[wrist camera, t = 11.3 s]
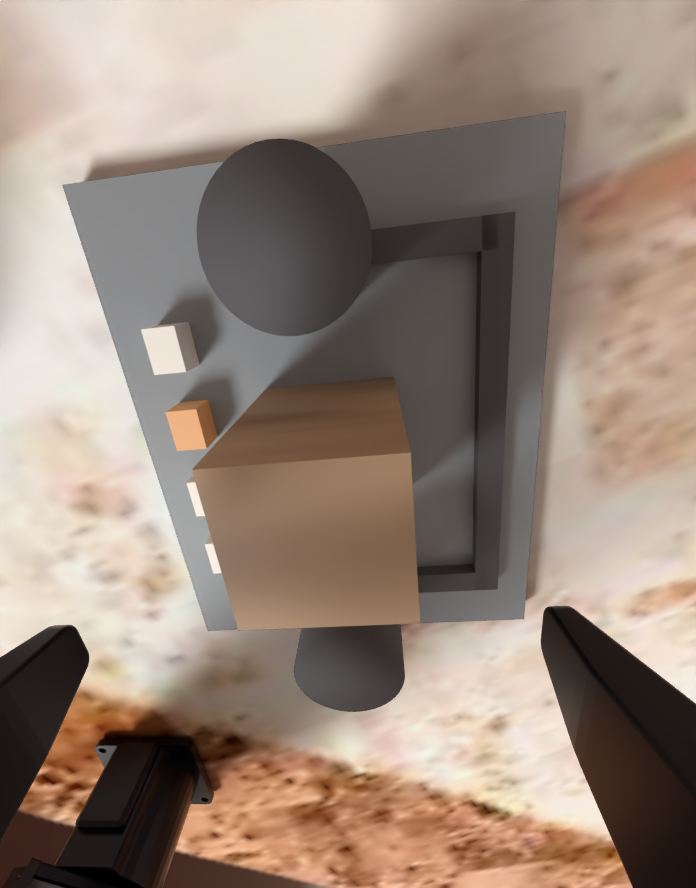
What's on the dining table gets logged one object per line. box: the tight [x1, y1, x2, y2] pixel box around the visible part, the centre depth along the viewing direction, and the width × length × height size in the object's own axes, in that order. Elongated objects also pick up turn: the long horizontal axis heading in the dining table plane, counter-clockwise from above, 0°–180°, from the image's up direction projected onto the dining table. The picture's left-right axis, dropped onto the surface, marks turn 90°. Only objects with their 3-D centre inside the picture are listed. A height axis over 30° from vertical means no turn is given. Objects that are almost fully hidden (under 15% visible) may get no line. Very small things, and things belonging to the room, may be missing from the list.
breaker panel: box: [63, 111, 566, 631], centre depth 16 cm, size 20×16×2 cm
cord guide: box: [196, 139, 516, 712], centre depth 14 cm, size 18×8×5 cm, turn 7°
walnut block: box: [192, 377, 420, 631], centre depth 13 cm, size 5×5×7 cm
